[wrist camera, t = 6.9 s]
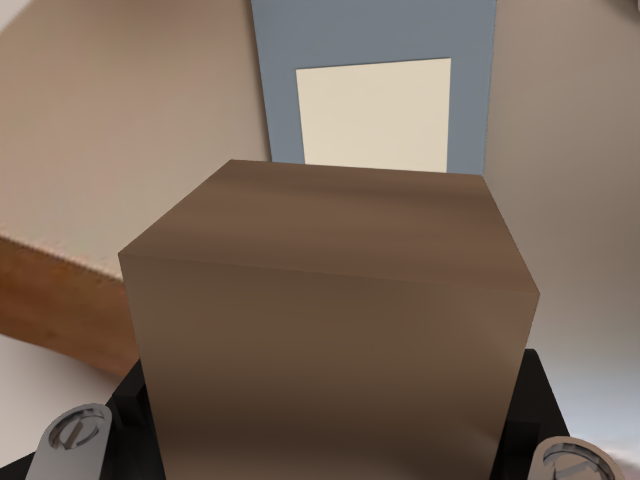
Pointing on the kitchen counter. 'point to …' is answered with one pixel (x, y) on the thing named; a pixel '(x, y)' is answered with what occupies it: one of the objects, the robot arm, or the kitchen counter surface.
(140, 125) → the kitchen counter surface
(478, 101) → the board
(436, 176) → the walnut block
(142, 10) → the kitchen counter surface
